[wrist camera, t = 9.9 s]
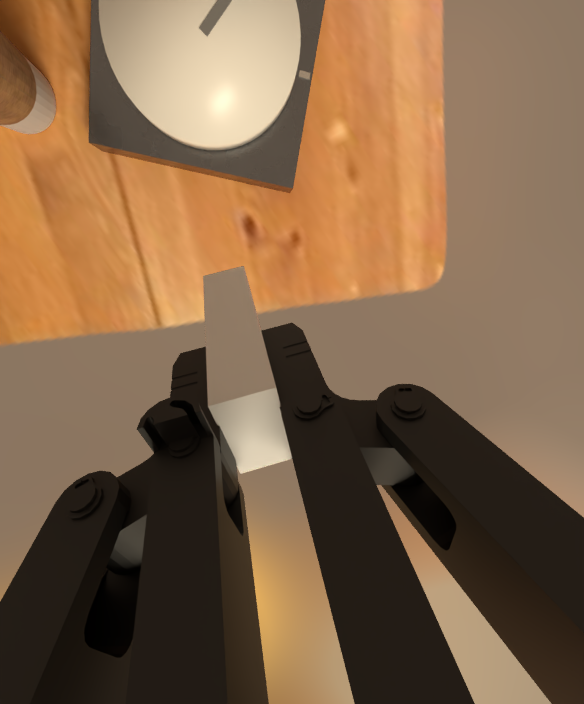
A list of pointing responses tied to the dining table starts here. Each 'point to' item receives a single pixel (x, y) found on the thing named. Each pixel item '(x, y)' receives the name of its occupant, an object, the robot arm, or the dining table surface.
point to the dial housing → (234, 164)
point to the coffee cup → (23, 92)
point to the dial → (204, 64)
